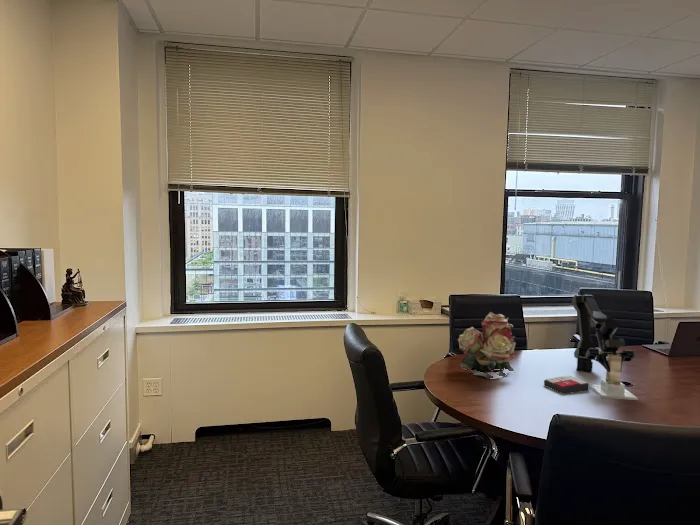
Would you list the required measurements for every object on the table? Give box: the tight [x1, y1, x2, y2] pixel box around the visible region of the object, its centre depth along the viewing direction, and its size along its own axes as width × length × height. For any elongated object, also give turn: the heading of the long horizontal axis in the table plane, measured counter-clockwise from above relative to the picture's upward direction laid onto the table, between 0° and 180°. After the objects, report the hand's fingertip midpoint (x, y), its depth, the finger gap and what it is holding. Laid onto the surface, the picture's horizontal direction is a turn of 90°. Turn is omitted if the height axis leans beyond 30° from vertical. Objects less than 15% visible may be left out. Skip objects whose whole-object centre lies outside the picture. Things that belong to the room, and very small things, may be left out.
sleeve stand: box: [589, 378, 639, 401], centre depth 190 cm, size 14×14×6 cm
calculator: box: [543, 375, 590, 394], centre depth 196 cm, size 11×4×15 cm
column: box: [605, 354, 622, 384], centre depth 190 cm, size 4×4×13 cm
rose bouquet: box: [457, 311, 517, 380], centre depth 216 cm, size 26×29×30 cm
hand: (614, 372), depth 189 cm, fingers closed on column, 4 cm apart
